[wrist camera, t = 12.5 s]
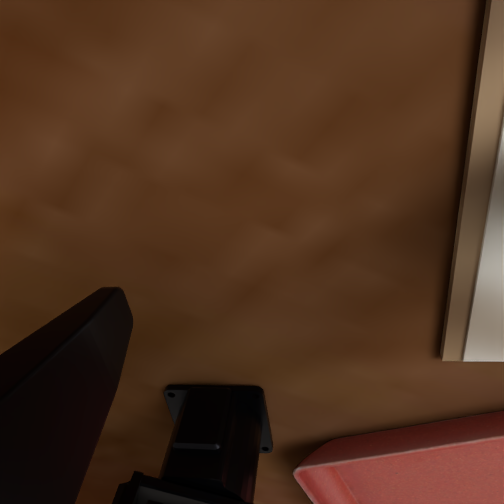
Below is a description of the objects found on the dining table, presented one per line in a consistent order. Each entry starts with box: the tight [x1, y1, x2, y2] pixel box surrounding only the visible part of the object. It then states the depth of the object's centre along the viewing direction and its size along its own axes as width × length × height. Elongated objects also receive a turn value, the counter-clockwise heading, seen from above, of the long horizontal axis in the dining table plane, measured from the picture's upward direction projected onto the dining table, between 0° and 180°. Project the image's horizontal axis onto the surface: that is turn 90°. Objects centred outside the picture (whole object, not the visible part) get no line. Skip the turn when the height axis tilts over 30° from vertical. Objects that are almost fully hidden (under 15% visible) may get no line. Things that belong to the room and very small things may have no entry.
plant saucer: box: [293, 411, 504, 504], centre depth 31 cm, size 18×18×3 cm
